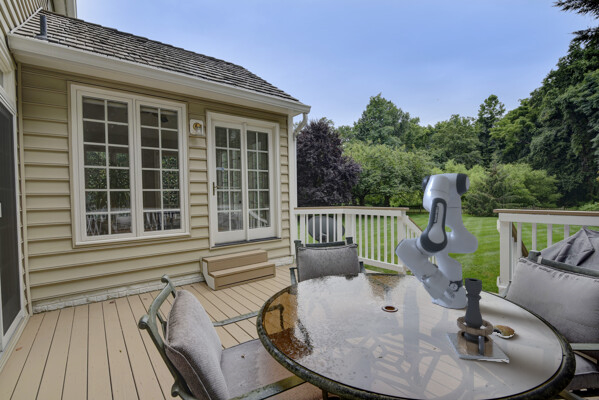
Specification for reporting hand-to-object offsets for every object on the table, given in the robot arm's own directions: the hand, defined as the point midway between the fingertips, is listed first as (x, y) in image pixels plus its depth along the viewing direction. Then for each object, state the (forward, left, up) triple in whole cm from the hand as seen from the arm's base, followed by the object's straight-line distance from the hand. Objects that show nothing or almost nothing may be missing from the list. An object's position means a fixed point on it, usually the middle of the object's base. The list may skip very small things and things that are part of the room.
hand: (452, 300), depth 109 cm
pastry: (-11, +22, -17) cm, 30 cm away
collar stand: (+3, +7, -17) cm, 18 cm away
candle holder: (+3, +6, -16) cm, 17 cm away
